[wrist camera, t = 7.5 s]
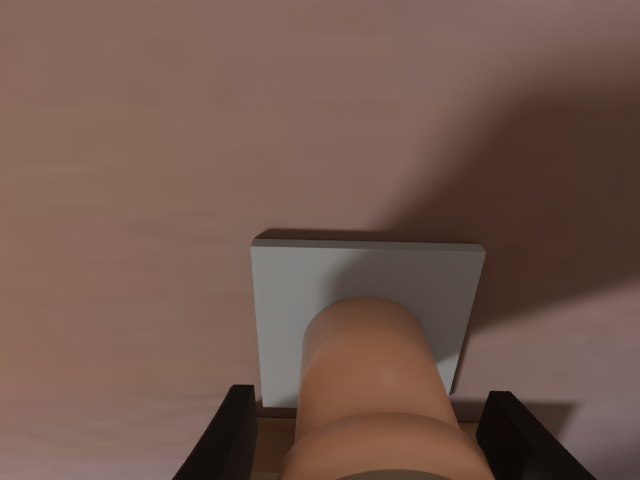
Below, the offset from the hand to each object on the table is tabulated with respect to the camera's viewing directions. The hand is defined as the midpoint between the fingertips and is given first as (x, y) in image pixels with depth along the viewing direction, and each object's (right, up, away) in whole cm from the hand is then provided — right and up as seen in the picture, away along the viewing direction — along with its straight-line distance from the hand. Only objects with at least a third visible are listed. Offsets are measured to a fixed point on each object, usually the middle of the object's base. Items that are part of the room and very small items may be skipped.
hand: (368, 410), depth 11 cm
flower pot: (0, +1, +3) cm, 3 cm away
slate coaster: (0, +2, +3) cm, 4 cm away
